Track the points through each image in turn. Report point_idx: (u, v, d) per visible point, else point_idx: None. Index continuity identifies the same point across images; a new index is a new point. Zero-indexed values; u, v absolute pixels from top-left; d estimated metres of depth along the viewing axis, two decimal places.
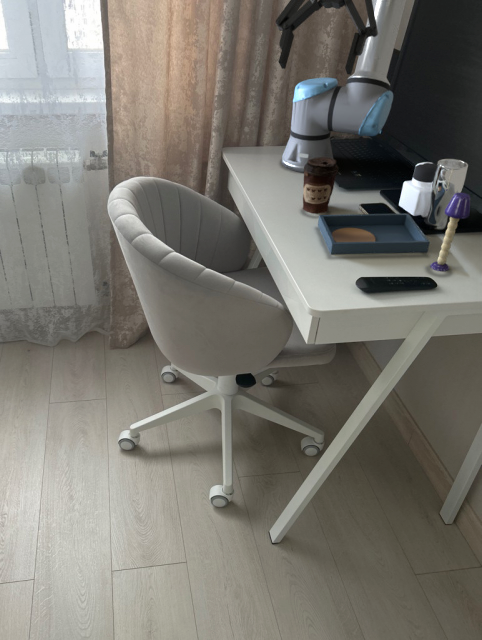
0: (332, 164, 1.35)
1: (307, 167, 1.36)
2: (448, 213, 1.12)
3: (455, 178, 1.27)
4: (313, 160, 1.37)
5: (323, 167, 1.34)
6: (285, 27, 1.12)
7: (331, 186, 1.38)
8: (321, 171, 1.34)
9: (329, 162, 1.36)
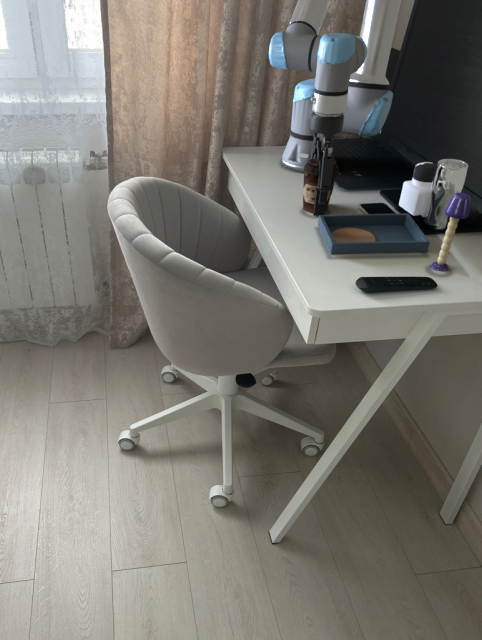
0: None
1: (307, 167, 1.36)
2: (448, 213, 1.12)
3: (456, 178, 1.27)
4: (313, 160, 1.37)
5: None
6: None
7: (331, 186, 1.38)
8: None
9: None
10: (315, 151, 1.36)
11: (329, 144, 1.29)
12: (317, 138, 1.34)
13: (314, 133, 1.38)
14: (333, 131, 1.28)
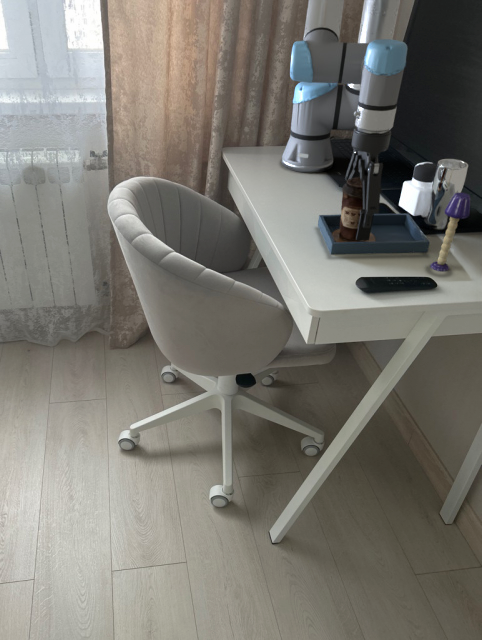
0: None
1: (347, 188, 1.22)
2: (448, 213, 1.12)
3: (456, 178, 1.27)
4: (353, 180, 1.23)
5: None
6: None
7: None
8: None
9: None
10: (355, 168, 1.23)
11: (374, 161, 1.15)
12: (359, 157, 1.20)
13: None
14: (379, 149, 1.14)
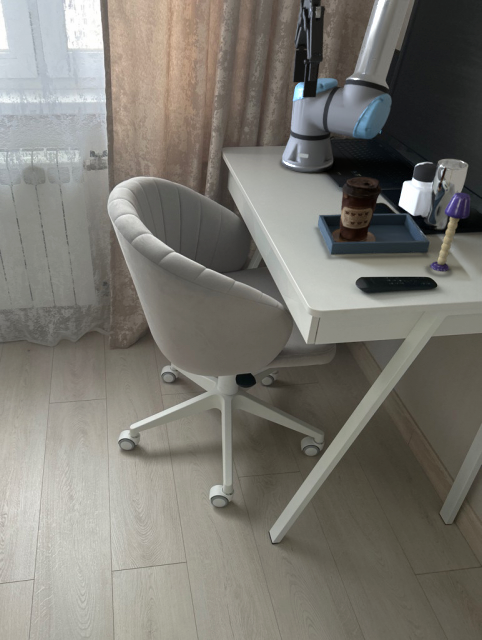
0: (375, 185, 1.21)
1: (347, 188, 1.22)
2: (448, 213, 1.12)
3: (456, 178, 1.27)
4: (353, 180, 1.23)
5: (365, 189, 1.20)
6: (296, 48, 1.28)
7: (373, 209, 1.24)
8: (363, 193, 1.20)
9: (371, 183, 1.22)
10: (301, 23, 1.21)
11: None
12: (303, 9, 1.18)
13: (301, 1, 1.21)
14: None
